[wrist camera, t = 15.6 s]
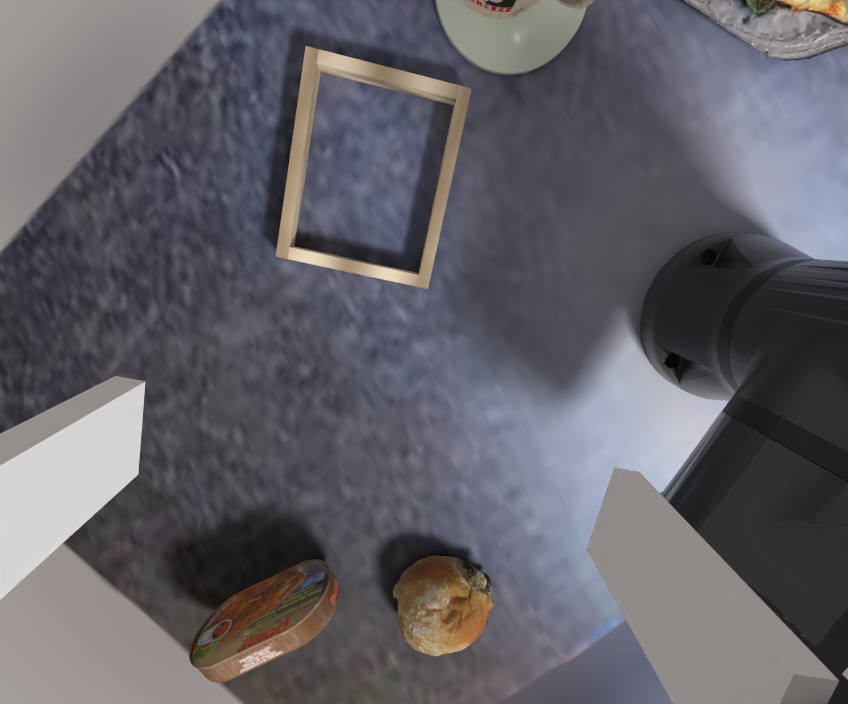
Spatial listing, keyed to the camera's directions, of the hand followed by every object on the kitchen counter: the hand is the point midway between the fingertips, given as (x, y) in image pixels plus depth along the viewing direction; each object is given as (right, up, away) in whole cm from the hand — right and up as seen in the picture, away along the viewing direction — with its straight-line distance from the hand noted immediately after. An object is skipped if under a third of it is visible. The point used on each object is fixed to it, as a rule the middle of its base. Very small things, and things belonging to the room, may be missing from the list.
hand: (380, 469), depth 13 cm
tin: (-14, -21, +37) cm, 45 cm away
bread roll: (+3, -22, +38) cm, 44 cm away
